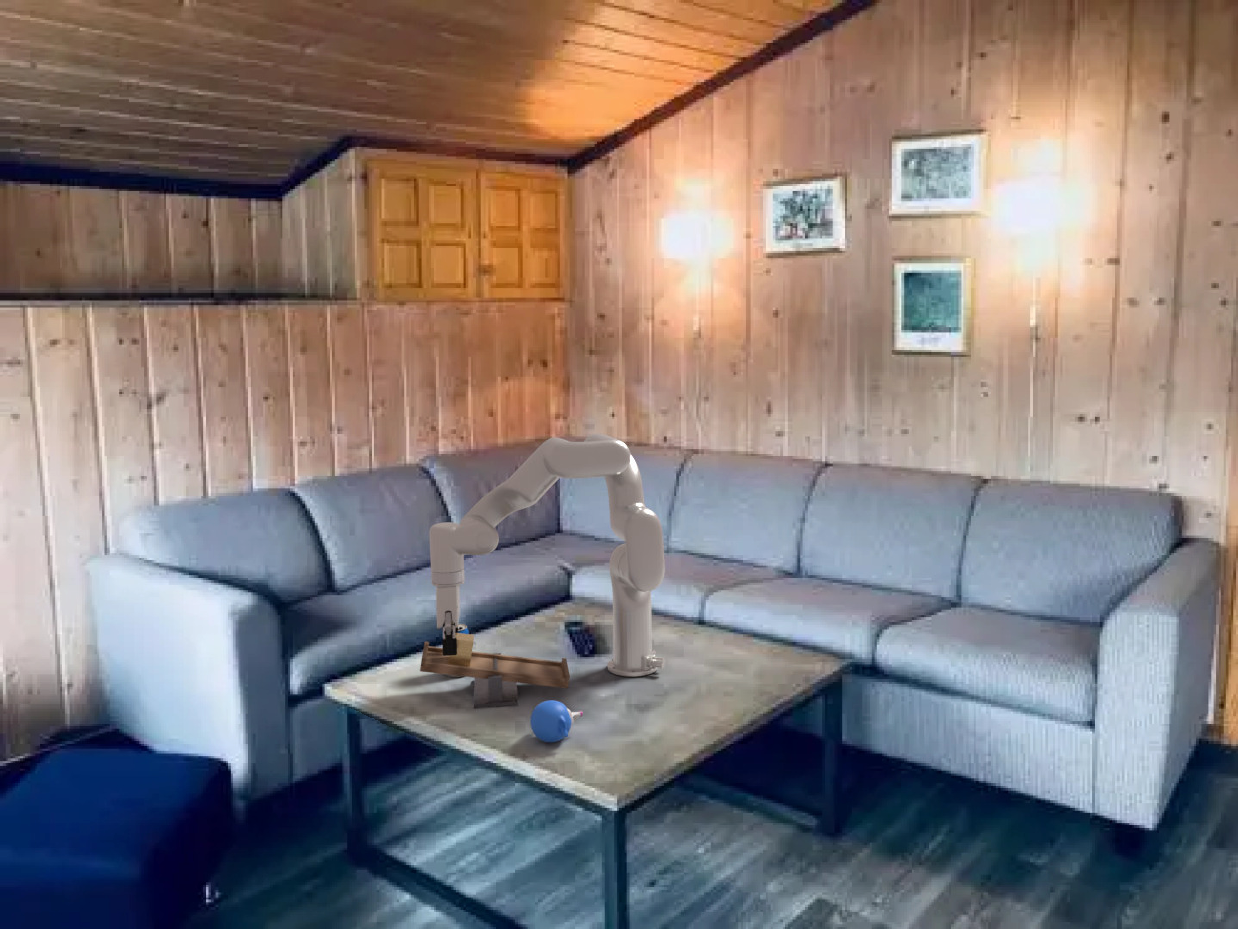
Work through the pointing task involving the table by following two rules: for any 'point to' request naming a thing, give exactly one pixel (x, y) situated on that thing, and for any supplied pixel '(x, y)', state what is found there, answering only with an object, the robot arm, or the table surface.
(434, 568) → the robot arm
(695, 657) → the table surface
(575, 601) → the table surface
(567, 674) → the beam
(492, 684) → the beam stand
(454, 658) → the rider
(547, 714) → the blue mole toy
